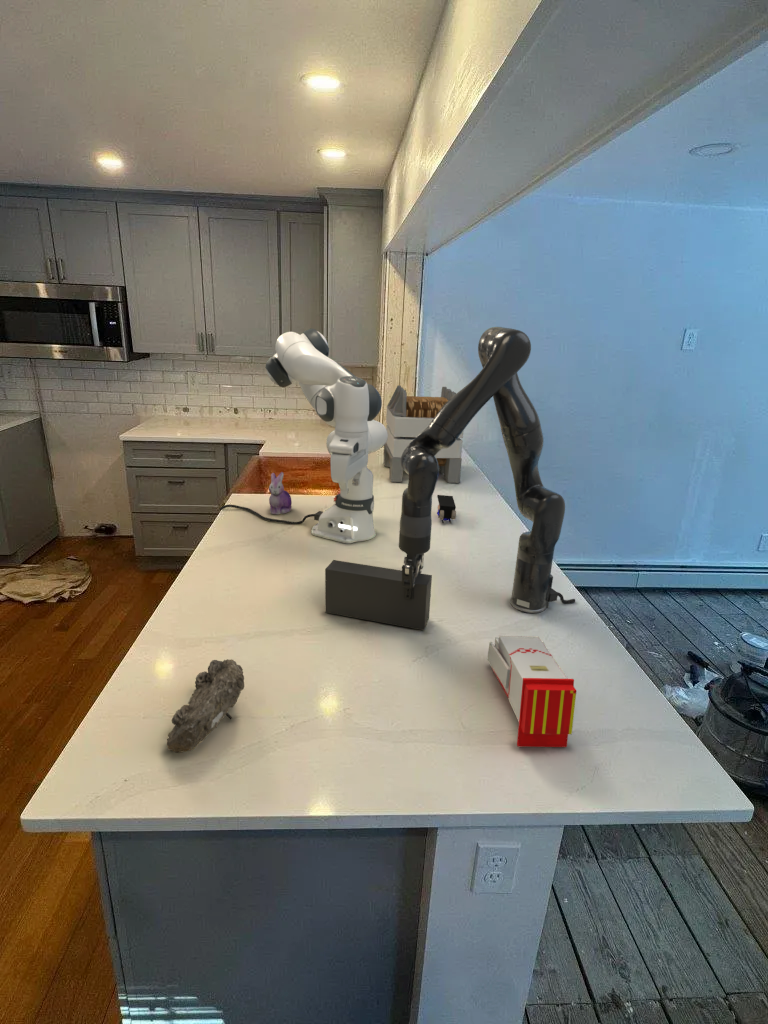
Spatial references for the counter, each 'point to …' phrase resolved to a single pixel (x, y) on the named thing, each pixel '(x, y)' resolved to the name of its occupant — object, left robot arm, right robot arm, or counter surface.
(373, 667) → the counter surface
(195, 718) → the fossil
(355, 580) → the box
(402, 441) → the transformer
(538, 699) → the toy
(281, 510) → the figurine
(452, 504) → the figurine character
